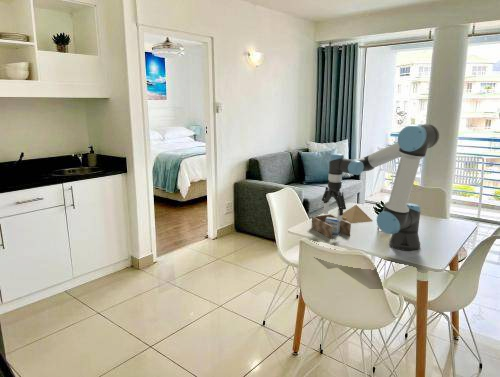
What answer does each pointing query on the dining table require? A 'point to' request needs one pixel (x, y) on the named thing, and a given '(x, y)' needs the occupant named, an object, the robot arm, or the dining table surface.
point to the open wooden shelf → (325, 228)
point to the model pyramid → (355, 215)
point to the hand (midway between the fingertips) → (332, 217)
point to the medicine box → (333, 224)
